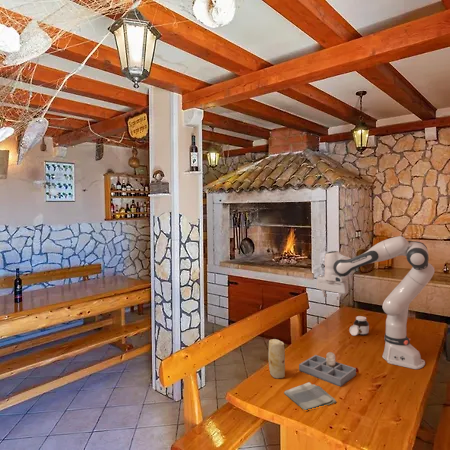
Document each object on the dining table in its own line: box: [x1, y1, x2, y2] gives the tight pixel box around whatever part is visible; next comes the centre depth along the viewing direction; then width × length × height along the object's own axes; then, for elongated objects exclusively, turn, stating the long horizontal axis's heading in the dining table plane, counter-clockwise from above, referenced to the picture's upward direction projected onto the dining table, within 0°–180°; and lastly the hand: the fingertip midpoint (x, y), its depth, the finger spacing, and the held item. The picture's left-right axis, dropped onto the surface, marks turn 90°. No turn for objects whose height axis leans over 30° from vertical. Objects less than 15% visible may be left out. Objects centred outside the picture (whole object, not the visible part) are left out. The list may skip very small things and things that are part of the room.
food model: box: [267, 338, 286, 379], centre depth 196 cm, size 10×7×20 cm
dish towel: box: [283, 381, 337, 411], centre depth 174 cm, size 19×18×3 cm
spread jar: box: [348, 315, 370, 337], centre depth 253 cm, size 12×11×12 cm
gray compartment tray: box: [298, 354, 357, 388], centre depth 198 cm, size 25×17×4 cm
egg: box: [325, 351, 336, 368], centre depth 201 cm, size 5×5×10 cm
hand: (331, 298), depth 227 cm, fingers open, 8 cm apart
